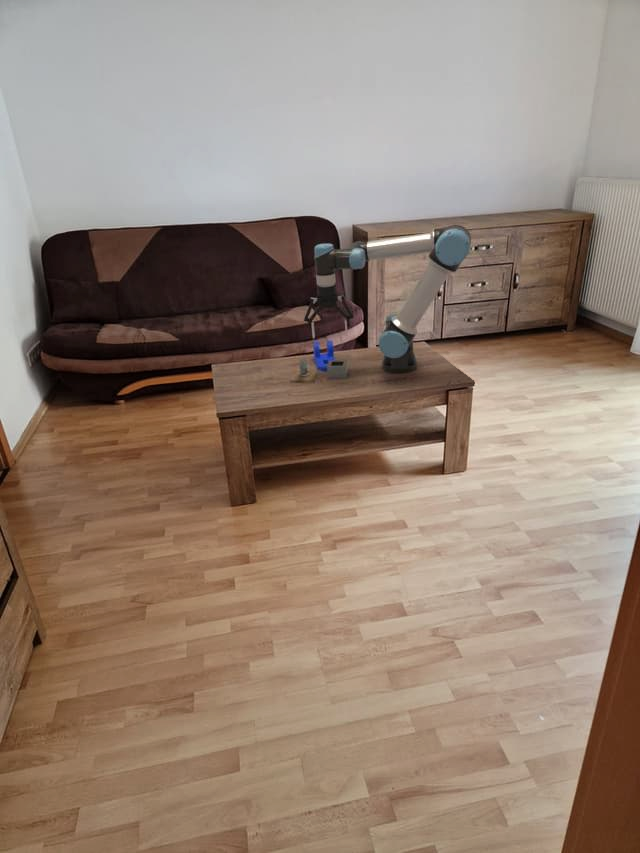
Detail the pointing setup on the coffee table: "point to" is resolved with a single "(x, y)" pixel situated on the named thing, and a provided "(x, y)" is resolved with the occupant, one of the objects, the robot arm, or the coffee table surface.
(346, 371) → the gray square frame
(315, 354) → the bracket
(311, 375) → the peg stand
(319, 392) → the coffee table surface
